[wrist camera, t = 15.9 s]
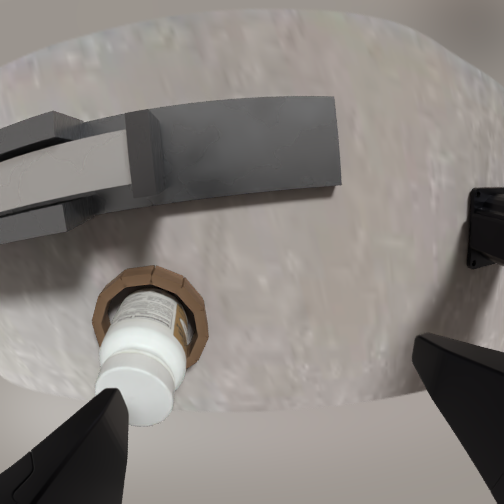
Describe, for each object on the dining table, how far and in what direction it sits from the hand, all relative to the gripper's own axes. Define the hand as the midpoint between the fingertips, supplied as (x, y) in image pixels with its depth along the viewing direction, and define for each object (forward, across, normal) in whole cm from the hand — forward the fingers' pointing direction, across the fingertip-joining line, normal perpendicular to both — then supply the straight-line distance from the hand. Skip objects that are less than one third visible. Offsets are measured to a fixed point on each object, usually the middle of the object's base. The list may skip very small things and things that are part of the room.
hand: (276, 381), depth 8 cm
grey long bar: (+10, +11, -7) cm, 16 cm away
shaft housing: (+11, +6, -7) cm, 14 cm away
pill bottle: (+11, +6, +3) cm, 13 cm away
